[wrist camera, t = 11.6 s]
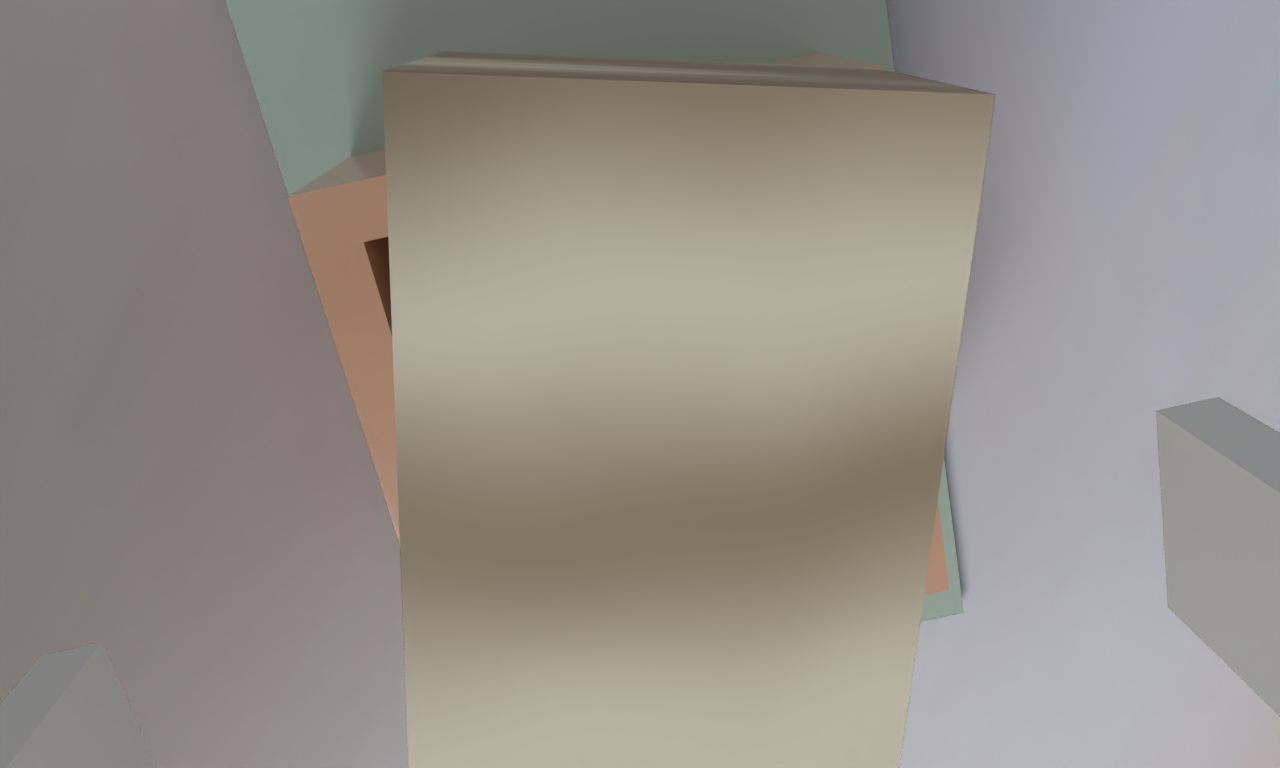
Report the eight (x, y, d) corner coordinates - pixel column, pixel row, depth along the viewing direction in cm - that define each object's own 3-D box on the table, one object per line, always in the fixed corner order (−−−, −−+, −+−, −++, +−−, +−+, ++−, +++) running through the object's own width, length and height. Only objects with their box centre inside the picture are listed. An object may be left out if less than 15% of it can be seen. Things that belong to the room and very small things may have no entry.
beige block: (809, 692, 22) (878, 909, 16) (456, 690, 21) (414, 911, 16) (875, 67, 18) (995, 94, 12) (444, 51, 17) (382, 71, 12)
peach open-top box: (883, 482, 26) (949, 589, 21) (473, 569, 26) (447, 694, 21) (819, 52, 22) (880, 64, 18) (349, 157, 23) (286, 196, 18)
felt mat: (958, 604, 27) (964, 612, 27) (458, 708, 28) (457, 718, 27) (858, -173, 21) (863, -176, 21) (222, -27, 22) (216, -28, 21)
